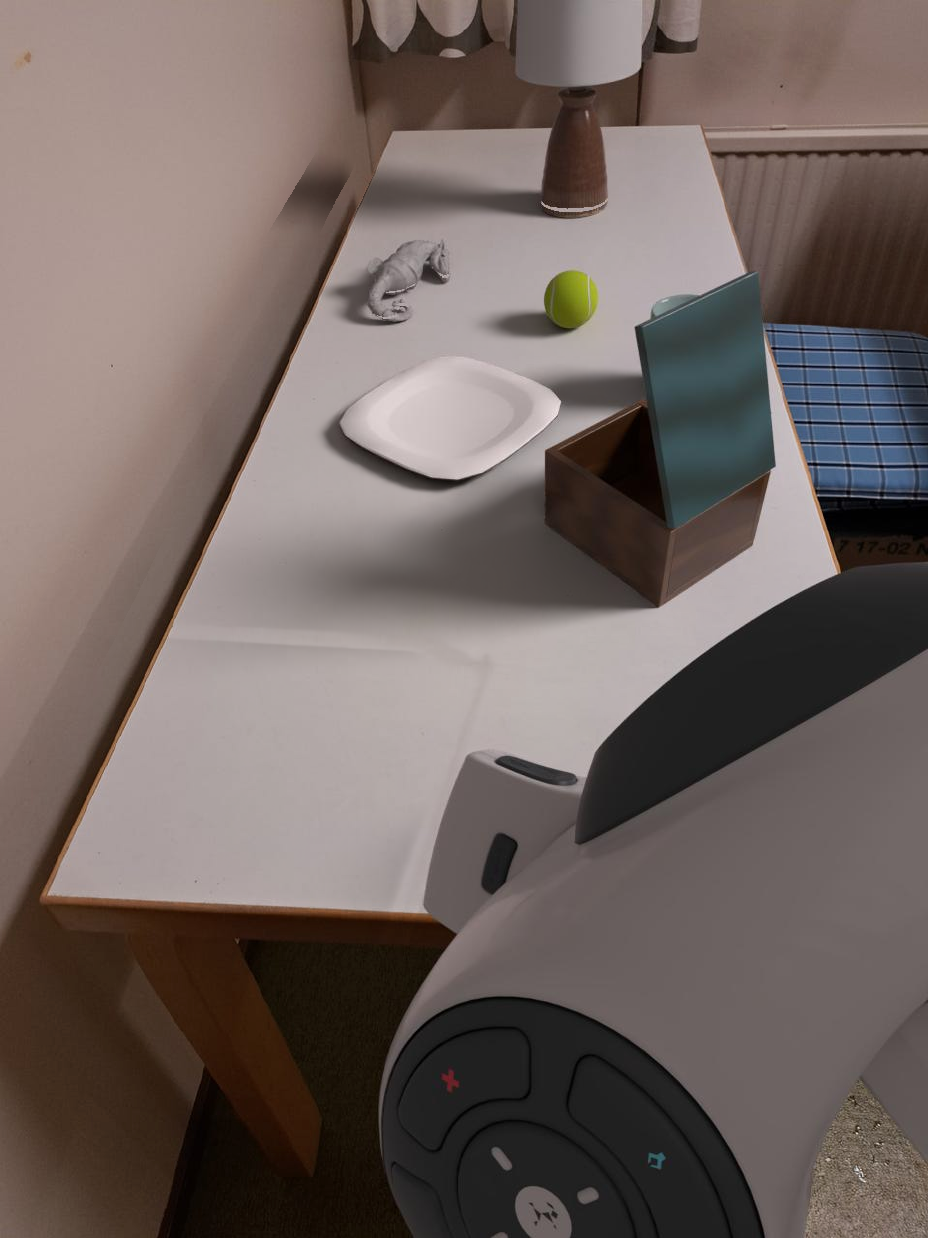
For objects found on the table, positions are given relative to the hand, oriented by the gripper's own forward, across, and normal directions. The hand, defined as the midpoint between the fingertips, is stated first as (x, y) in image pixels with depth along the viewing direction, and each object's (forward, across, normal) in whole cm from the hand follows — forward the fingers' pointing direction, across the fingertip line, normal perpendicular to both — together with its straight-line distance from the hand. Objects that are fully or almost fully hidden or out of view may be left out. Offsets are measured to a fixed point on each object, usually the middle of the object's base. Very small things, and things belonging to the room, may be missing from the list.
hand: (699, 838), depth 41 cm
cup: (+57, +18, -36) cm, 70 cm away
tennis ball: (+64, +36, -44) cm, 86 cm away
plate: (+46, +40, -25) cm, 66 cm away
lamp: (+91, +50, -72) cm, 126 cm away
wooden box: (+39, +14, -17) cm, 45 cm away
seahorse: (+66, +61, -45) cm, 100 cm away
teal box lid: (+25, +10, -27) cm, 39 cm away
